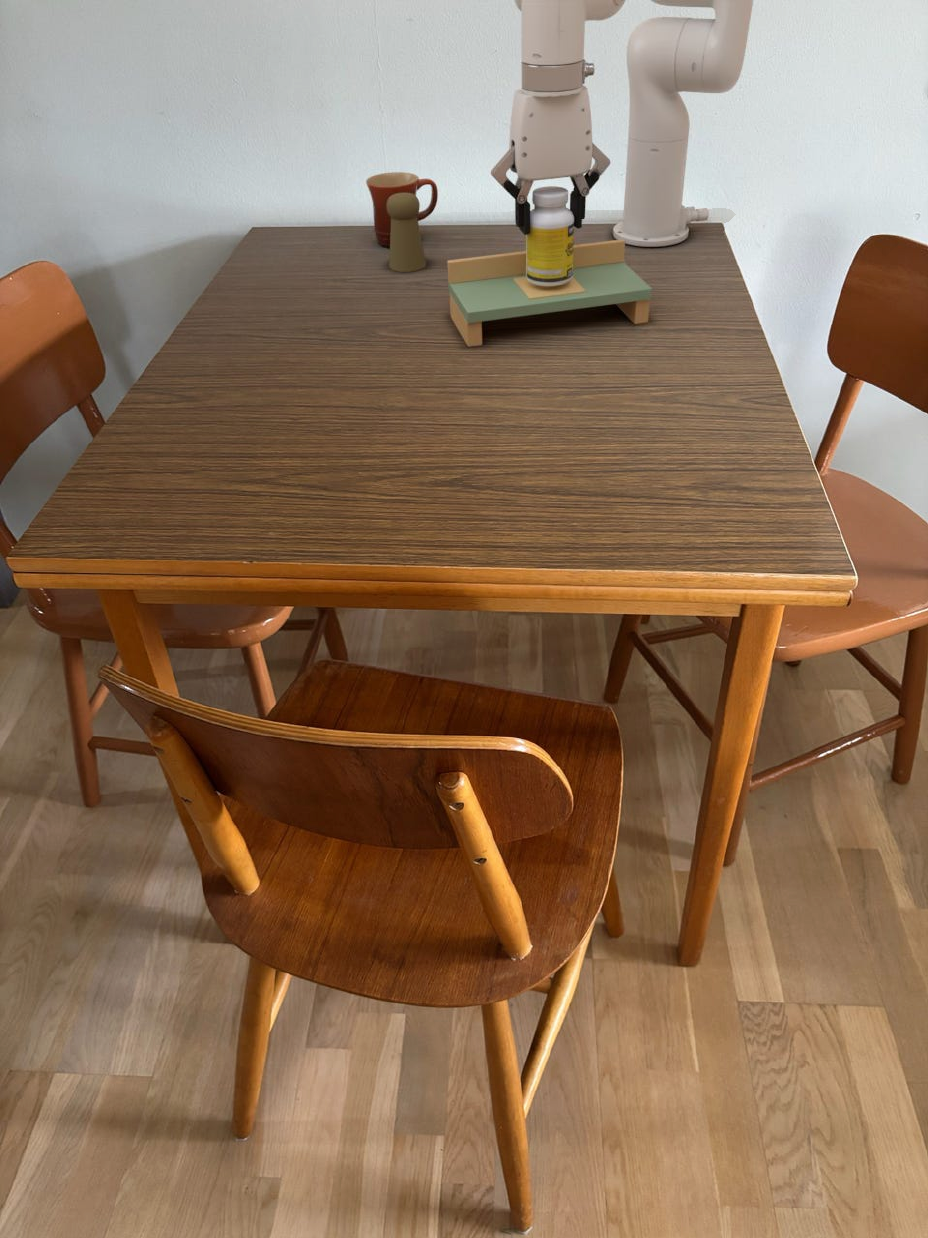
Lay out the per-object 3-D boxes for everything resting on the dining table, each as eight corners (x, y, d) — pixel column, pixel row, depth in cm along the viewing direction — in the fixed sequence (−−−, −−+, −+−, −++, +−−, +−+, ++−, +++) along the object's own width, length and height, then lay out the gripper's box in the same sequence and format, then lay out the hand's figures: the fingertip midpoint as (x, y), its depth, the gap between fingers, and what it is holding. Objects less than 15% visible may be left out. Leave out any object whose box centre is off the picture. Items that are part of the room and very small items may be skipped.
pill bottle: (565, 290, 129) (567, 199, 122) (519, 285, 131) (519, 196, 124) (578, 273, 134) (580, 185, 127) (533, 269, 136) (534, 182, 128)
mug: (379, 253, 161) (373, 189, 154) (366, 238, 167) (360, 175, 161) (447, 243, 164) (443, 179, 157) (432, 228, 170) (428, 167, 164)
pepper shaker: (421, 272, 153) (416, 200, 146) (385, 271, 154) (378, 199, 147) (430, 259, 158) (425, 188, 151) (394, 258, 159) (388, 188, 152)
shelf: (619, 293, 143) (622, 238, 138) (649, 323, 134) (654, 266, 129) (450, 315, 139) (447, 260, 134) (468, 348, 130) (466, 290, 125)
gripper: (609, 65, 121) (602, 213, 132) (476, 78, 118) (480, 227, 130) (630, 76, 115) (621, 229, 127) (491, 89, 113) (494, 244, 124)
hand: (550, 227), depth 128 cm, fingers closed on pill bottle, 6 cm apart
